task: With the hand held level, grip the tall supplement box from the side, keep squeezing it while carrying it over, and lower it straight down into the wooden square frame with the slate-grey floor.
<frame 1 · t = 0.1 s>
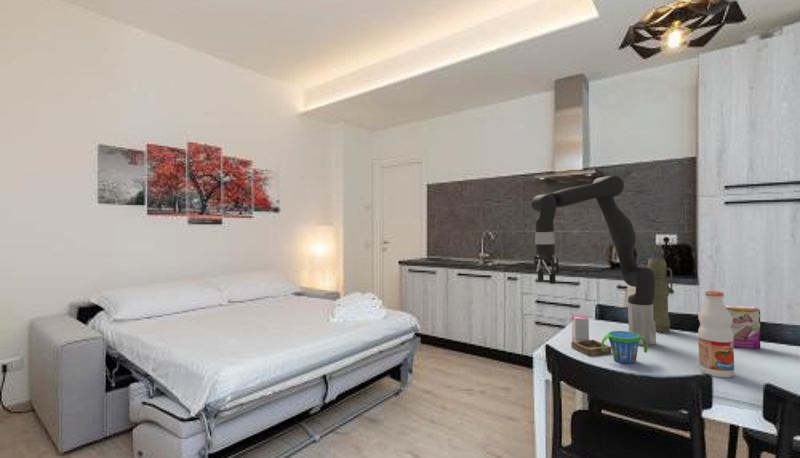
hand: (546, 282, 158), 29 cm above the table, tool pointing down, fingers open, 8 cm apart
candy bar box: (741, 347, 158), on the table
snack cup: (624, 361, 147), on the table
fruit juice: (716, 373, 133), on the table
thermos: (658, 330, 185), on the table
supplement box: (580, 342, 171), on the table
wooden square frame: (590, 350, 160), on the table
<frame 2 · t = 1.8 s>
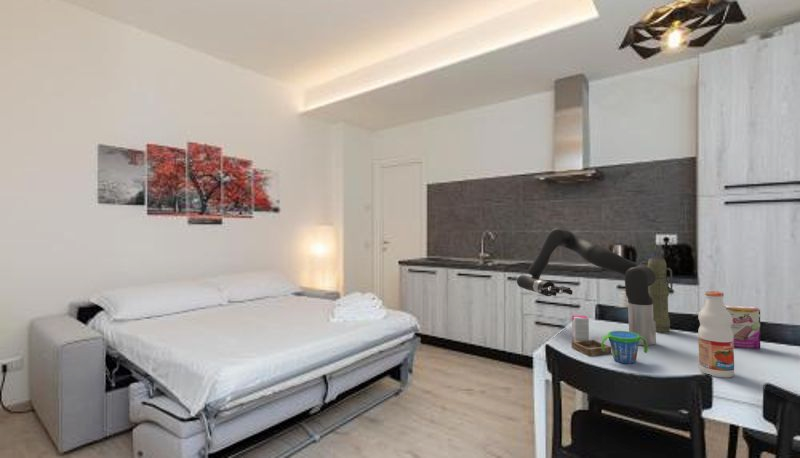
hand: (563, 293, 181), 20 cm above the table, tool horizontal, fingers open, 8 cm apart
nothing on the table moved.
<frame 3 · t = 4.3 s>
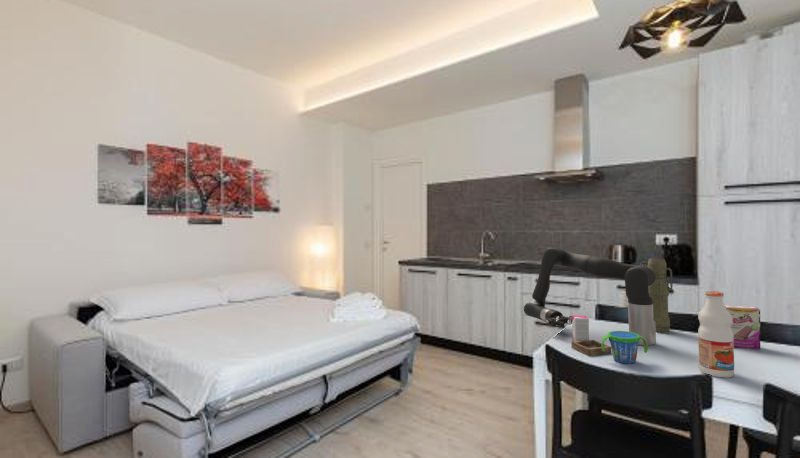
hand: (572, 324, 176), 6 cm above the table, tool horizontal, fingers open, 8 cm apart
nothing on the table moved.
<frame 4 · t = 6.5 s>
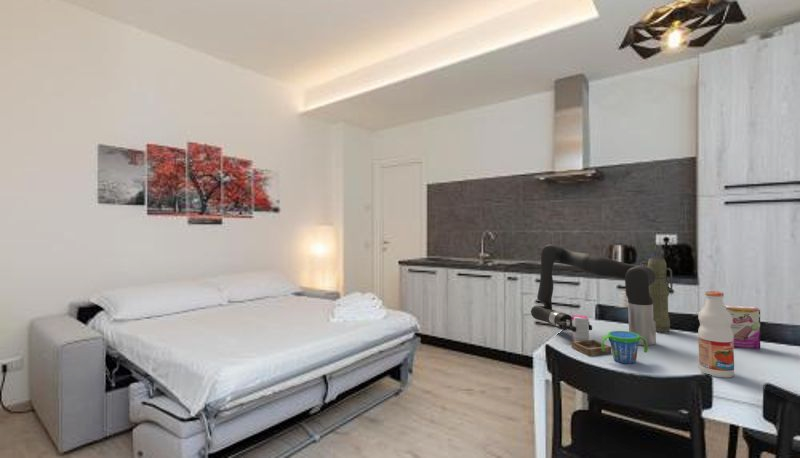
hand: (583, 328, 169), 7 cm above the table, tool horizontal, fingers closed on supplement box, 7 cm apart
supplement box: (580, 342, 171), on the table, touching gripper
everything else where it was.
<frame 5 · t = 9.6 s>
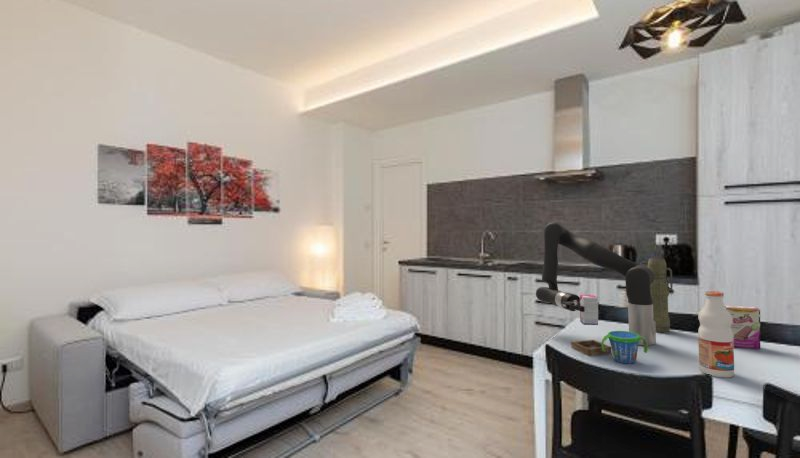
hand: (592, 308, 158), 18 cm above the table, tool horizontal, fingers closed on supplement box, 7 cm apart
supplement box: (589, 323, 160), point 11 cm above the table, touching gripper
everything else where it was.
when the fingers open (8 cm above the table, at t = 13.0 s): supplement box drops 1 cm, resting on wooden square frame.
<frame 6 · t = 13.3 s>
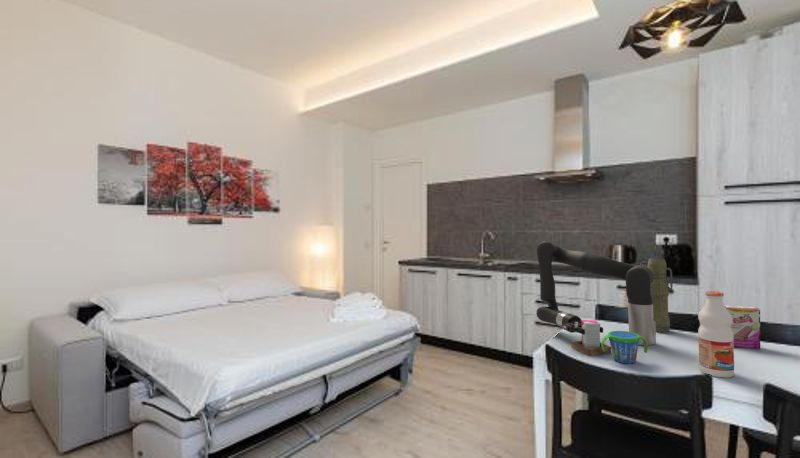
hand: (593, 331, 158), 8 cm above the table, tool horizontal, fingers open, 8 cm apart
supplement box: (590, 349, 160), resting on wooden square frame
everything else where it was.
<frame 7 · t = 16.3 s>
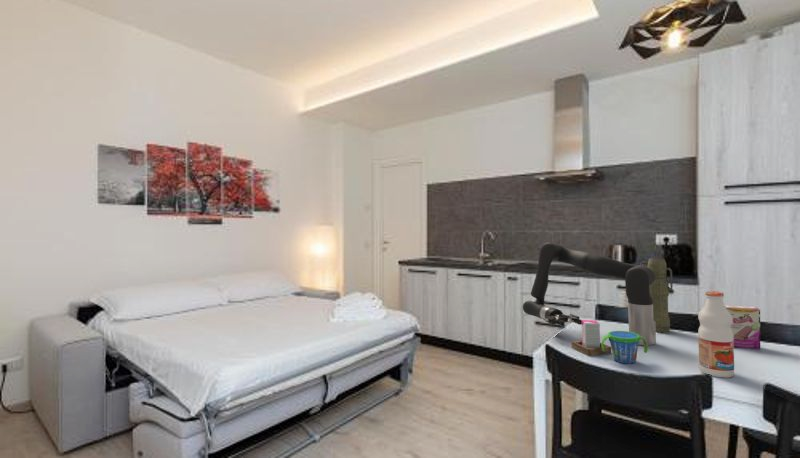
hand: (572, 323, 171), 9 cm above the table, tool horizontal, fingers open, 8 cm apart
nothing on the table moved.
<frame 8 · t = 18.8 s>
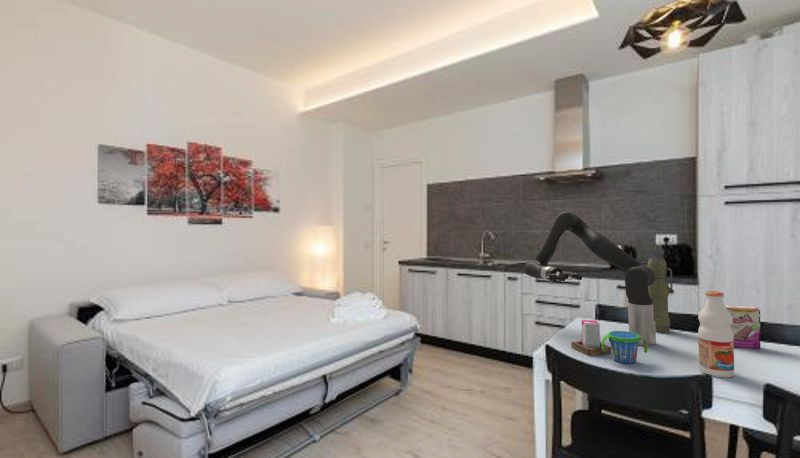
hand: (572, 278, 174), 28 cm above the table, tool horizontal, fingers open, 8 cm apart
nothing on the table moved.
at the end: supplement box 0.3 cm off-centre on the wooden square frame, point 0.3 cm above the wooden square frame's base; supplement box tilted 0°; the gripper is holding nothing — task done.
